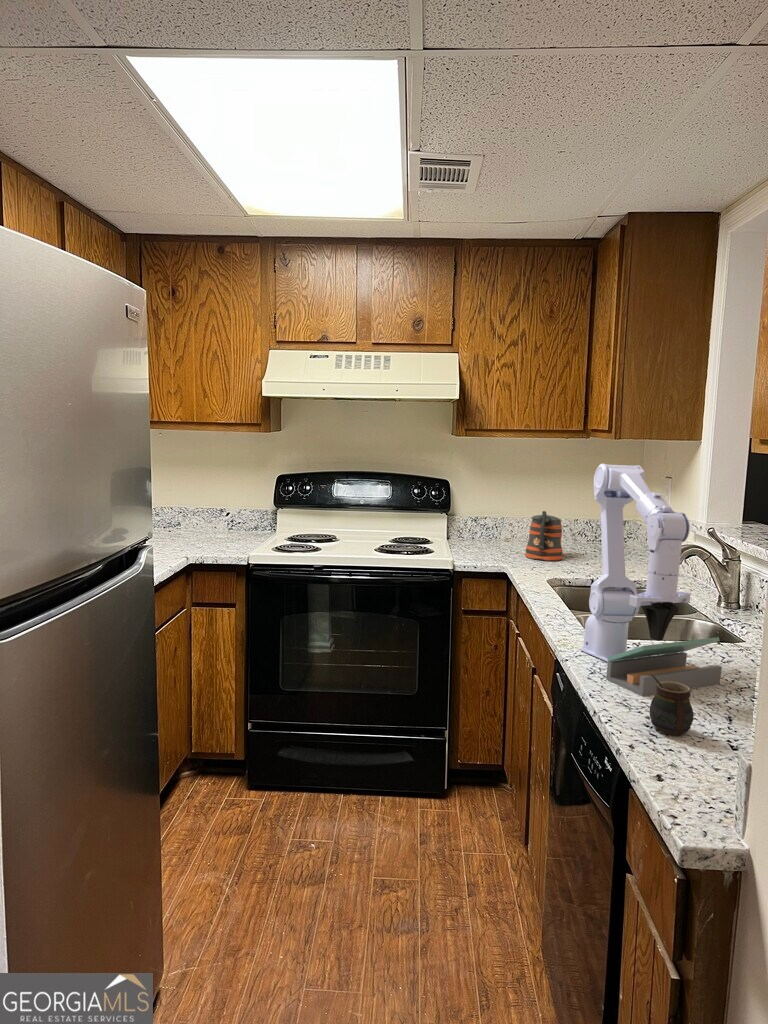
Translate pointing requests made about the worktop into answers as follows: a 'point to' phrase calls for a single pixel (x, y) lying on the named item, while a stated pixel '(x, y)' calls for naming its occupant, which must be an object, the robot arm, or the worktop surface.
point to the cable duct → (660, 673)
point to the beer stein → (545, 538)
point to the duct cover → (662, 649)
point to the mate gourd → (671, 708)
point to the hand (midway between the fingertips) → (656, 639)
